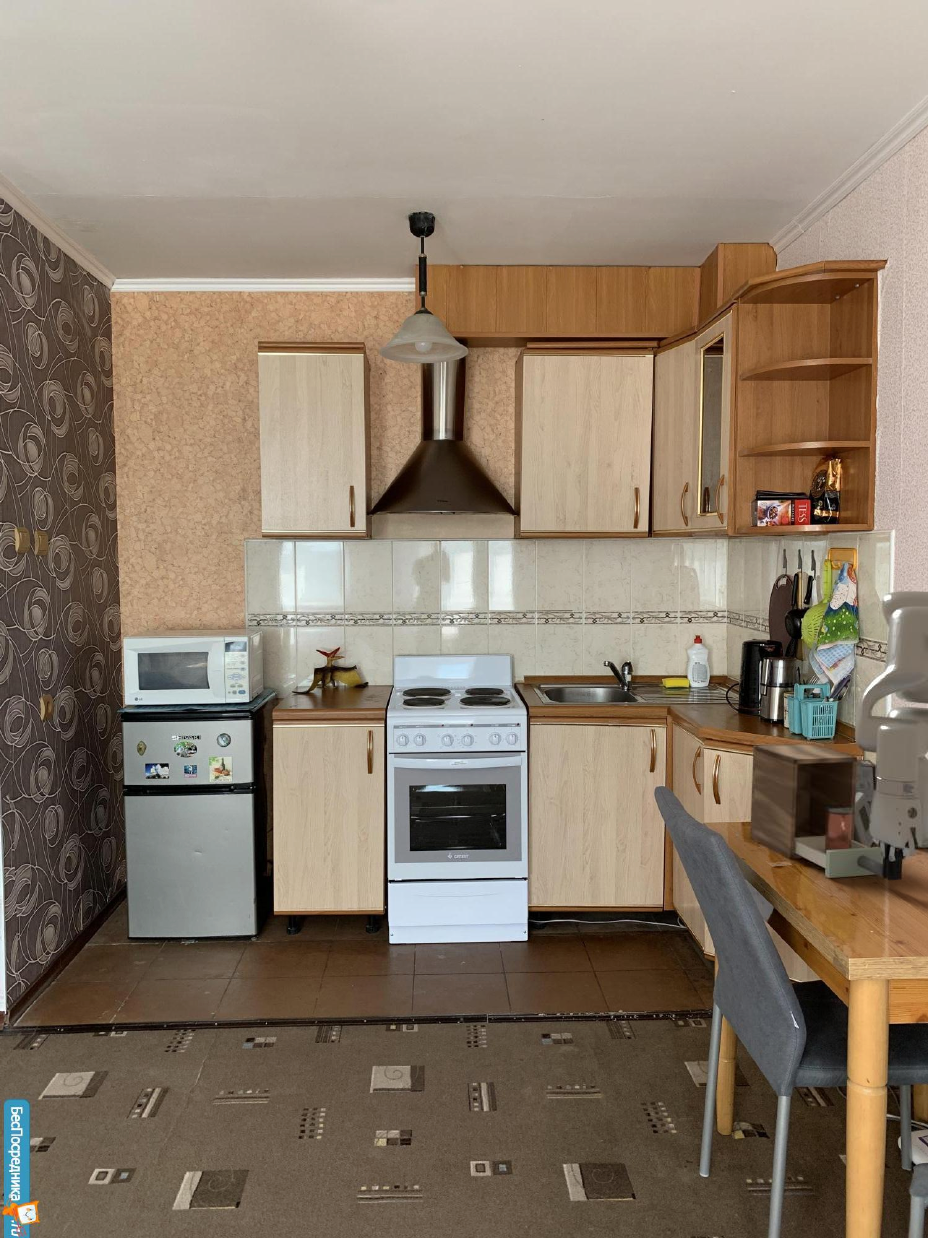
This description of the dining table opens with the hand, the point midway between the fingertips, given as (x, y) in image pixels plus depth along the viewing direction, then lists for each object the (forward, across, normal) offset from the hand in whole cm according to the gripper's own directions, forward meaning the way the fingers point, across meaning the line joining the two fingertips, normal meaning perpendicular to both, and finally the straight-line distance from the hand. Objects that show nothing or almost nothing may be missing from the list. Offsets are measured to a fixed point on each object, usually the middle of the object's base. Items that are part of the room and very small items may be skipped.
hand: (891, 878), depth 183 cm
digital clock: (+3, +29, -15) cm, 33 cm away
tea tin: (0, +17, 0) cm, 17 cm away
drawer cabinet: (+3, +30, 0) cm, 30 cm away
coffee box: (+3, +42, -25) cm, 49 cm away
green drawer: (+2, +13, 0) cm, 14 cm away
